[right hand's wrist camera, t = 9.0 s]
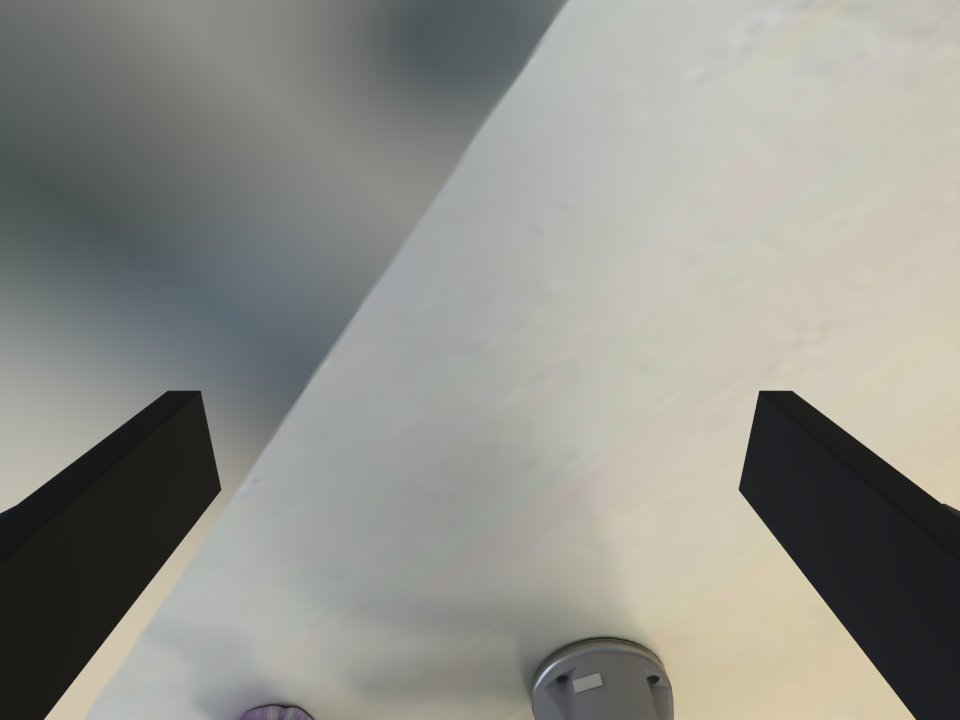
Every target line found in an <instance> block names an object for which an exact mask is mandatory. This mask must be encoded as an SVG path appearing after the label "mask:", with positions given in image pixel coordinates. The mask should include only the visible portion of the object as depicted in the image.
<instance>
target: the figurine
mask: <svg viewBox="0 0 960 720" xmlns="http://www.w3.org/2000/svg"><path fill="white" fill-rule="evenodd" d="M239 720H312V719H311V718H309V716H308V715H306V714H305V712H303V711H301V709H298V708H294V707H292V708H282V707H280V706H273V705H272V706H266V707H262V708H257V709H254V710H251V711H248V712H246V713H245V714H244V715H243V716H242V717H241V718H240V719H239Z"/></svg>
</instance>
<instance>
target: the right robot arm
mask: <svg viewBox="0 0 960 720" xmlns="http://www.w3.org/2000/svg"><path fill="white" fill-rule="evenodd" d="M220 491H221V486H220V481H219V476H218V472H217V467H216V462H215V457H214V452H213V448H212V443H211V438H210V433H209V428H208V424H207V419H206V414H205V409H204V405H203V400H202V395H201V391H167V392H166V393H164V394H163V395H162V396H160V397H159V398H158V399H156V400H155V401H154V402H153V403H151V404H150V405H149V406H147V407H146V408H145V409H143V410H142V411H141V412H139V413H138V414H137V415H135V416H134V417H133V418H131V419H130V420H129V421H127V422H126V423H125V424H123V425H122V426H121V427H119V428H118V429H117V430H116V431H114V432H113V433H112V434H110V435H109V436H108V437H106V438H105V439H104V440H102V441H101V442H100V443H98V444H97V445H96V446H94V447H93V448H92V449H90V450H89V451H88V452H86V453H85V454H84V455H82V456H81V457H80V458H78V459H77V460H76V461H75V462H73V463H72V464H71V465H69V466H68V467H67V468H65V469H64V470H63V471H61V472H60V473H59V474H57V475H56V476H55V477H53V478H52V479H51V480H49V481H48V482H47V483H45V484H44V485H43V486H41V487H40V488H39V489H38V490H36V491H35V492H34V493H32V494H31V495H30V496H28V497H27V498H26V499H24V500H23V501H22V502H20V503H19V504H18V505H16V506H14V507H12V508H10V509H8V510H6V511H4V512H2V513H0V720H44V719H45V717H46V716H47V715H48V714H49V712H50V711H51V710H52V708H53V707H54V706H55V705H56V703H57V702H58V701H59V699H60V698H61V697H62V696H63V694H64V693H65V692H66V690H67V689H68V688H69V686H70V685H71V684H72V683H73V681H74V680H75V679H76V677H77V676H78V675H79V673H80V672H81V671H82V670H83V668H84V667H85V666H86V664H87V663H88V662H89V660H90V659H91V658H92V657H93V655H94V654H95V653H96V651H97V650H98V649H99V648H100V646H101V645H102V644H103V642H104V641H105V640H106V639H107V637H108V636H109V635H110V633H111V632H112V631H113V629H114V628H115V627H116V626H117V624H118V623H119V622H120V620H121V619H122V618H123V617H124V615H125V614H126V613H127V611H128V610H129V609H130V607H131V606H132V605H133V604H134V602H135V601H136V600H137V598H138V597H139V596H140V595H141V593H142V592H143V591H144V589H145V588H146V587H147V585H148V584H149V583H150V582H151V580H152V579H153V578H154V576H155V575H156V574H157V572H158V571H159V570H160V569H161V567H162V566H163V565H164V563H165V562H166V561H167V559H168V558H169V557H170V556H171V554H172V553H173V552H174V550H175V549H176V548H177V547H178V545H179V544H180V543H181V541H182V540H183V539H184V537H185V536H186V535H187V534H188V532H189V531H190V530H191V528H192V527H193V526H194V525H195V523H196V522H197V521H198V519H199V518H200V517H201V515H202V514H203V513H204V512H205V510H206V509H207V508H208V506H209V505H210V504H211V503H212V501H213V500H214V499H215V497H216V496H217V495H218V493H219V492H220ZM739 491H740V492H741V494H742V495H743V496H744V497H745V499H746V500H747V501H748V503H749V504H750V505H751V506H752V508H753V509H754V510H755V512H756V513H757V514H758V516H759V517H760V518H761V519H762V521H763V522H764V523H765V525H766V526H767V527H768V528H769V530H770V531H771V532H772V534H773V535H774V536H775V538H776V539H777V540H778V541H779V543H780V544H781V545H782V547H783V548H784V549H785V550H786V552H787V553H788V554H789V556H790V557H791V558H792V560H793V561H794V562H795V563H796V565H797V566H798V567H799V569H800V570H801V571H802V573H803V574H804V575H805V576H806V578H807V579H808V580H809V582H810V583H811V584H812V585H813V587H814V588H815V589H816V591H817V592H818V593H819V595H820V596H821V597H822V598H823V600H824V601H825V602H826V604H827V605H828V606H829V607H830V609H831V610H832V611H833V613H834V614H835V615H836V617H837V618H838V619H839V620H840V622H841V623H842V624H843V626H844V627H845V628H846V629H847V631H848V632H849V633H850V635H851V636H852V637H853V639H854V640H855V641H856V642H857V644H858V645H859V646H860V648H861V649H862V650H863V651H864V653H865V654H866V655H867V657H868V658H869V659H870V661H871V662H872V663H873V664H874V666H875V667H876V668H877V670H878V671H879V672H880V674H881V675H882V676H883V677H884V679H885V680H886V681H887V683H888V684H889V685H890V686H891V688H892V689H893V690H894V692H895V693H896V694H897V696H898V697H899V698H900V699H901V701H902V702H903V703H904V705H905V706H906V707H907V708H908V710H909V711H910V712H911V714H912V715H913V716H914V718H915V719H916V720H960V511H958V510H956V509H954V508H952V507H950V506H948V505H946V504H941V503H940V502H938V501H937V500H936V499H934V498H933V497H932V496H930V495H929V494H928V493H926V492H925V491H924V490H923V489H921V488H920V487H919V486H917V485H916V484H915V483H913V482H912V481H911V480H909V479H908V478H907V477H905V476H904V475H903V474H901V473H900V472H899V471H897V470H896V469H895V468H893V467H892V466H891V465H889V464H888V463H887V462H885V461H884V460H883V459H882V458H880V457H879V456H878V455H876V454H875V453H874V452H872V451H871V450H870V449H868V448H867V447H866V446H864V445H863V444H862V443H860V442H859V441H858V440H856V439H855V438H854V437H852V436H851V435H850V434H848V433H847V432H846V431H844V430H843V429H842V428H841V427H839V426H838V425H837V424H835V423H834V422H833V421H831V420H830V419H829V418H827V417H826V416H825V415H823V414H822V413H821V412H819V411H818V410H817V409H815V408H814V407H813V406H811V405H810V404H809V403H807V402H806V401H805V400H804V399H802V398H801V397H800V396H798V395H797V394H796V393H794V392H793V391H759V395H758V400H757V405H756V409H755V414H754V419H753V424H752V428H751V433H750V438H749V443H748V448H747V452H746V457H745V462H744V467H743V471H742V476H741V481H740V486H739ZM531 700H532V709H533V713H534V716H535V720H674V709H673V694H672V687H671V684H670V681H669V679H668V676H667V673H666V670H665V668H664V666H663V665H662V663H661V662H660V660H659V659H658V658H657V657H656V656H655V655H654V654H653V653H651V652H650V651H649V650H647V649H645V648H643V647H641V646H639V645H637V644H634V643H631V642H628V641H624V640H618V639H592V640H586V641H582V642H578V643H575V644H572V645H569V646H567V647H564V648H563V649H561V650H559V651H557V652H556V653H554V654H553V655H551V656H550V657H549V658H548V659H546V660H545V661H544V662H543V663H542V665H541V666H540V667H539V668H538V670H537V672H536V673H535V675H534V678H533V680H532V684H531Z"/></svg>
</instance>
